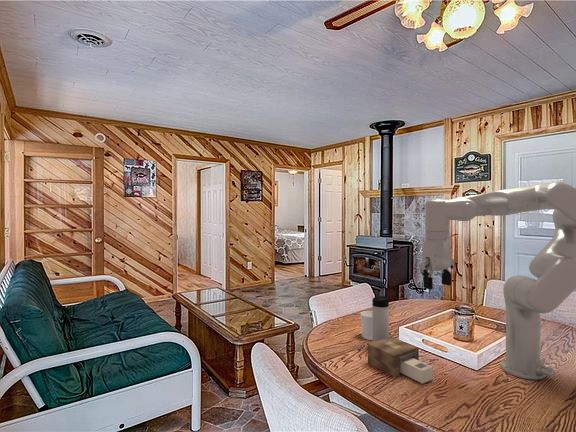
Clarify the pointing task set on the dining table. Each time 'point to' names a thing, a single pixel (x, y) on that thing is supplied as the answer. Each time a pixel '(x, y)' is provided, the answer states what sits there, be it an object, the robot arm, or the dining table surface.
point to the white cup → (366, 324)
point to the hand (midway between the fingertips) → (437, 286)
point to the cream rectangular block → (416, 370)
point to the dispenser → (390, 354)
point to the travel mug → (380, 318)
